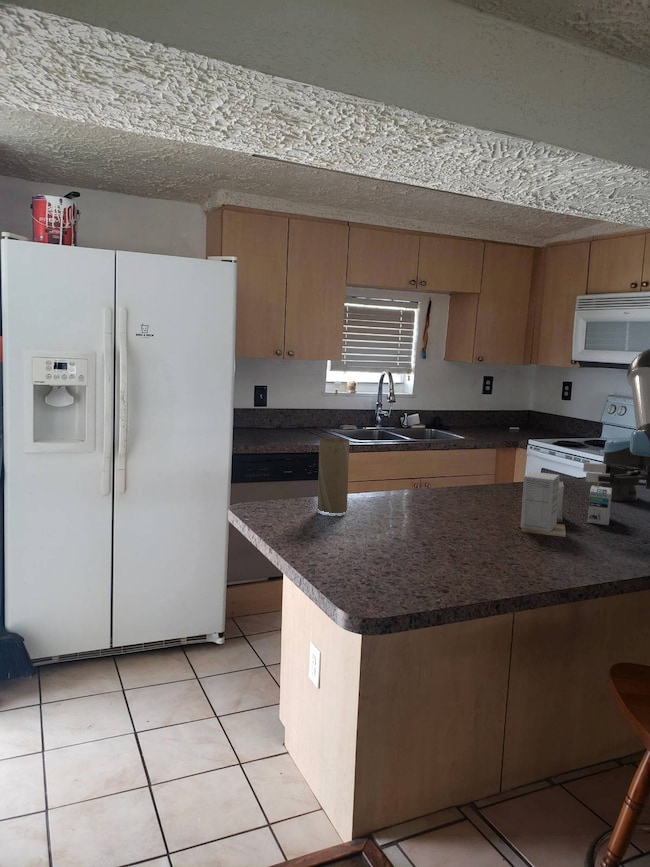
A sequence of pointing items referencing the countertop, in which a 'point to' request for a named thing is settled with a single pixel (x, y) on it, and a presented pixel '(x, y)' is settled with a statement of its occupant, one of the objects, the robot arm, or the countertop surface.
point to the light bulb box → (599, 505)
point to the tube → (333, 474)
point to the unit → (560, 502)
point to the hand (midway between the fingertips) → (584, 471)
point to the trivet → (556, 531)
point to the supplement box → (540, 501)
